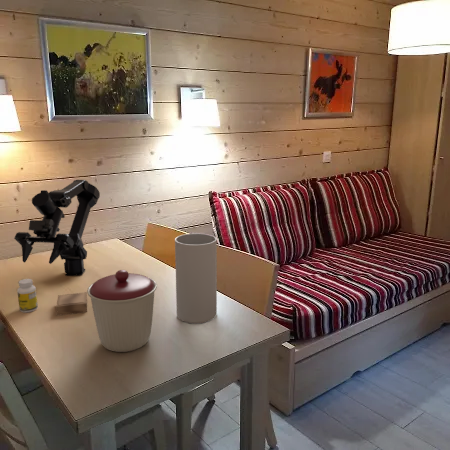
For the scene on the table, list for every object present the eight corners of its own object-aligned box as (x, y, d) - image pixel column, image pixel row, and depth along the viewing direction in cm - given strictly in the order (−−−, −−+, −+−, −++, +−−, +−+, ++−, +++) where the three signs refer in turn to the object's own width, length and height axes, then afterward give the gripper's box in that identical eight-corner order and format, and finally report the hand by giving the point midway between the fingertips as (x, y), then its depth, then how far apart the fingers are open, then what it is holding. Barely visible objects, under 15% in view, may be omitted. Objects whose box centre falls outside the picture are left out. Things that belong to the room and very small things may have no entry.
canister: (79, 341, 118) (73, 270, 113) (135, 320, 130) (132, 255, 125) (113, 368, 105) (108, 289, 100) (172, 342, 118) (170, 270, 113)
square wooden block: (87, 300, 144) (86, 291, 144) (87, 311, 136) (86, 302, 135) (58, 303, 142) (58, 294, 141) (57, 315, 133) (56, 306, 133)
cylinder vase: (209, 304, 142) (208, 231, 136) (222, 320, 131) (222, 242, 124) (172, 310, 138) (170, 235, 131) (182, 327, 126) (181, 246, 120)
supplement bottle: (15, 310, 136) (12, 282, 134) (30, 304, 141) (27, 276, 139) (27, 314, 134) (23, 285, 132) (41, 307, 139) (38, 279, 136)
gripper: (14, 209, 143) (-3, 250, 135) (66, 210, 141) (53, 252, 133) (29, 225, 153) (15, 265, 145) (79, 227, 151) (67, 267, 143)
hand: (36, 262), depth 141 cm, fingers open, 9 cm apart
